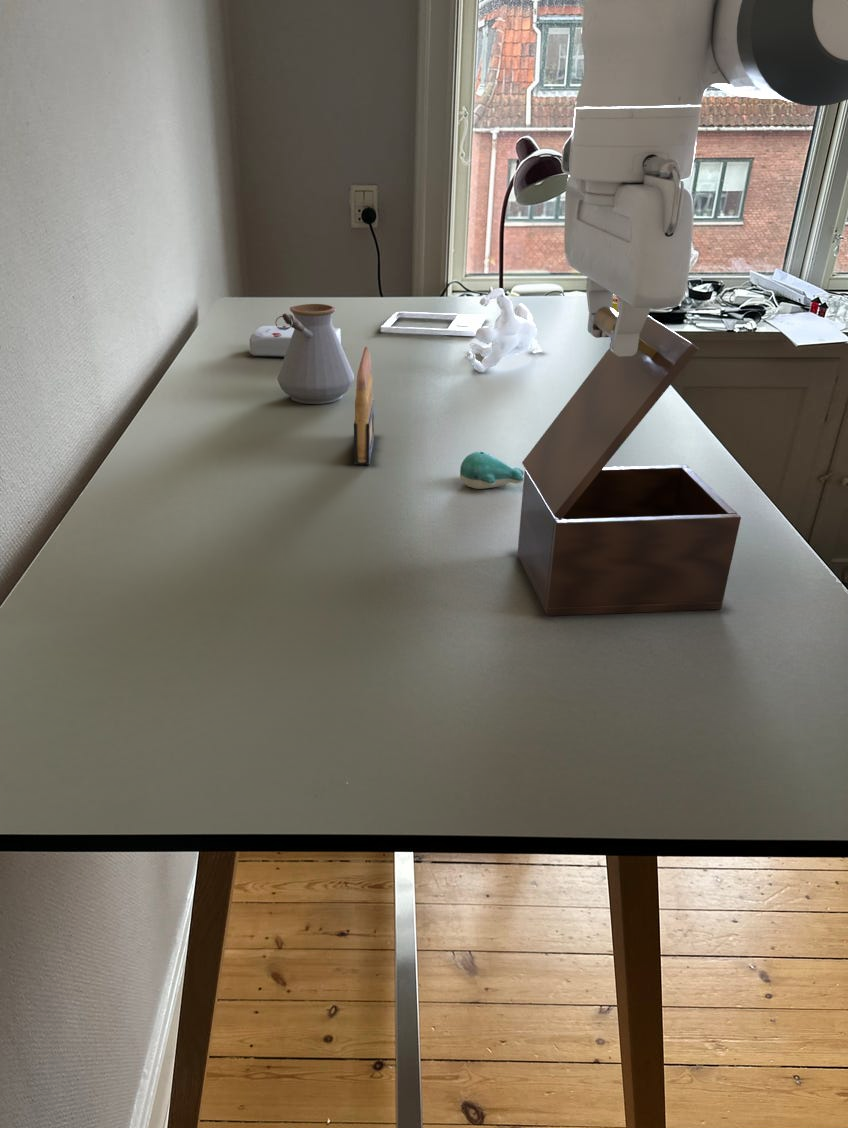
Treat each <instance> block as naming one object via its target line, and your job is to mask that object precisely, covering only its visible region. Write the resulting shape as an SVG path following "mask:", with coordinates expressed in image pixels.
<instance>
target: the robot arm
mask: <svg viewBox="0 0 848 1128" xmlns="http://www.w3.org/2000/svg"><path fill="white" fill-rule="evenodd" d="M580 31H581V33H580V40H581V47H582V53H583V64H584V65H583V74H582V79H581V84H580V87H579V90H578V93H577V95H576V98H575V99H576V100H575V104H574V106H575V108H574V117H573V128H572V131H571V135H570V136H569V137H568V139H566V141H565V143H564V144H563V147H562V151H561V161H560V162H561V163H560V168H561V171H562V172H563V174H566V175H568V177H567V180H566V184H565V197H564V229H563V230H564V231H563V232H564V238H563V239H564V240H563V241H564V245H563V246H564V254H565V259H566V260H565V261H566V263H567V265H568V266H569V267H571V268H572V269H573V270H575V271H577V272H578V273H580V274H581V275H583V276H585V277H586V283H585V284H586V286H585V292H586V300H587V309H588V321H587V332H588V333H589V334H590V335H591V336H592V337H594V338H595V339H600V338H610V337H609V336H608V335H606V334H605V333H604V332H603V331H601V330H600V329H599V328H598V327H596V325H595V323H594V316H595V314H596V312H597V311H598V310H599V309H600V308H602V307H610V308H612V309H613V310H614V308H613V307H614V295H615V296H616V297H617V302H616V311H618V317H617V322H616V326H615V329H612V330H611V338H610V343H609V348H610V350H611V351H612V352H613V353H614V354H616V355H617V356H619V357H622V356H633V355H635V354H636V352H637V350H638V343H639V335H640V332H641V330H642V328H643V325H644V323H645V321H646V319H647V316H649V314H650V311H651V309H659V308H662V309H663V308H675V307H678V306H679V305H680V304H681V302H682V300H683V299H684V296H685V294H686V292H687V288H688V284H689V275H690V266H691V255H692V245H693V234H694V233H693V232H694V219H695V218H694V217H695V216H694V213H695V211H694V210H695V209H694V200H693V196H692V194H691V192H690V191H689V190H688V189H687V188H685V183H684V181H685V180H688V179H691V177H692V175H693V168H694V160H695V154H696V146H697V140H698V139H697V138H698V131H699V127H700V126H699V125H700V119H701V112H702V104H703V99H704V95H705V92H706V91H707V90H708V89H709V88H710V87H712V88H717V89H720V90H722V91H724V92H727V93H729V94H731V95H735V96H739V97H747V98H757V99H772V100H773V99H774V100H775V99H776V100H777V99H780V100H783V101H786V102H790V103H793V104H797V105H801V106H806V107H807V106H808V107H826V106H831V105H835V104H838V103H842V102H845V101H847V100H848V0H583V10H582V20H581V30H580Z"/></svg>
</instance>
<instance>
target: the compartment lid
mask: <svg viewBox="0 0 848 1128" xmlns="http://www.w3.org/2000/svg"><path fill="white" fill-rule="evenodd" d="M618 313H619V311H618V312H617V310H615V309H614V308H613V309H612V308H610V307H602V308H600V309H599V310H598V311H597V312H596V314H595V316H594V323H595V325H596V327H598V328H599V329H600V330H601V331H603V332H604V333H605V334H606V335H608V336H609V337H608V338H610V339H611V330H612V329H615V326H616V322H617V317H618ZM698 351H700V350H699V347H698V346H696V345H695V344H694V343H692V342H691V341H689V340H688V339H686V338H685V337H683V336H682V335H680V334H678V333H677V332H675V331H674V330H672V329H670V328H668V327H667V326H666V325H664V324H663V323H661V322H659V321H658V320H656V319H654V318H653V317H652V316H650V315H648V316H647V319H646V321H645V323H644V325H643V328H642V330H641V332H640V335H639V343H638V350H637V352H636V354H635V355H633V356H622V357H619V356H617V355H616V354H614V353H613V352H612V351H611V350H610V347H609V348H608V349H607V350H606V352H604V355H603V356H602V357H601V358H600V360H599V361H598V362H597V364H596V365H595V366H594V368H593V369H592V370H591V371H590V373H589V374H588V375H587V377H586V378H585V379H584V380H583V382H582V383H581V384H580V386H579V387H578V389H577V390H576V391H575V392H574V394H573V395H572V396H571V397H570V399H569V400H568V401H567V403H566V404H565V406H564V407H563V408H562V409H561V411H560V412H559V413H558V415H557V416H556V417H555V419H554V420H553V421H552V422H551V424H550V425H549V426H548V428H547V429H546V430H545V432H543V434H542V435H541V437H540V438H539V439H538V440H537V442H535V445H534V446H533V447H532V448H531V450H530V451H529V452H528V454H527V455H526V457H524V459H523V460H522V462H521V464H522V465H523V467H524V470H527V472H528V474H529V475H530V477H531V479H532V480H533V482H534V483H535V485H536V487H537V488H538V490H539V492H540V493H541V495H542V497H543V498H544V500H545V502H546V503H547V505H548V507H549V508H550V510H551V512H552V513H553V515H554V516H555V517H557V518H558V519H560V520H561V519H562V518H563V517H564V516H565V514H566V513H567V512H568V511H569V509H570V508H571V507H572V506H573V504H574V503H575V502H576V501H577V500H578V498H579V497H580V496H581V495H582V493H583V492H584V491H585V490H586V488H587V487H588V486H589V485H590V483H591V482H592V481H593V480H594V479H595V477H596V476H597V475H598V474H599V472H600V471H601V470H602V469H603V467H606V465H607V464H608V463H609V461H610V460H611V459H612V458H613V456H614V455H615V454H616V453H617V451H618V450H619V449H620V448H621V446H623V444H624V443H625V442H626V440H627V439H628V438H629V437H630V435H631V434H632V433H633V432H634V431H635V429H636V428H637V427H638V426H639V425H640V423H641V422H642V421H643V419H644V418H645V417H646V416H647V415H648V414H649V412H650V411H651V410H652V408H654V406H655V405H656V403H657V402H658V401H659V400H660V398H661V397H662V396H663V395H664V394H665V393H666V391H667V390H668V389H669V387H670V386H671V385H672V384H673V382H674V381H675V380H676V379H677V378H678V376H679V375H680V374H681V372H682V371H683V370H684V369H685V368H686V366H687V365H688V364H689V363H690V361H692V359H693V358H694V357H695V355H696V354H697V353H698Z"/></svg>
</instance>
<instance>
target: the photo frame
mask: <svg viewBox="0 0 848 1128" xmlns="http://www.w3.org/2000/svg"><path fill="white" fill-rule="evenodd" d="M399 318H411V319H413V318H414V319H438V320H453V321H452V322H451V323H450V325H449V326H448V328H430V327H409V326H408V327H407V326H393V324H394V323H395V322H396V321H397V320H398V319H399ZM485 320H486V315H485V314H466V313H443V312H419V311H417V312H415V311H396V312H395V313H393V314H392V315H391V316H390V317H389V318H388V319H387V320H386V321H385V322H384V323H383V324H382V325H381V326H380V333H395V334H396V333H397V334H419V335H437V336H438V335H440V336H462V337H476V331H477V329H478V328H480V327H482V326H483V324H484V322H485Z"/></svg>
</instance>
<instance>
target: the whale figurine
mask: <svg viewBox="0 0 848 1128" xmlns="http://www.w3.org/2000/svg"><path fill="white" fill-rule="evenodd" d="M459 477H460V480H461V482H462V483H463V484H464V485H466V486H467V487H469V488H472V489H477V490H481V489H483V490H484V489H492V488H496V487H502V486H506V485H509V484H510V483H511V484H515V485H518V484H521V483H523V482H524V471H523V470H522V468H519V467H511V466H510V465H508V464H507V463H505V462H504V461H502V460H500V459H499V458H497V457H495V456H493V455H491V454H489V453H488V452H485V451H483V450H478V451H474V452H471V453H469V454H467V456H465V458H464V459H463V460H462V462H461V464H460V470H459Z"/></svg>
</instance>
